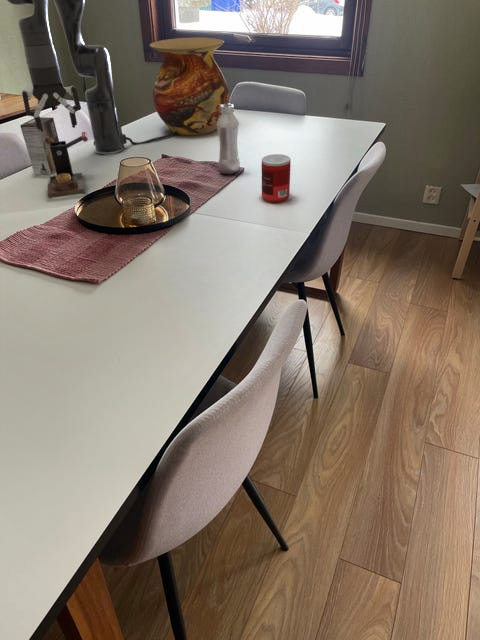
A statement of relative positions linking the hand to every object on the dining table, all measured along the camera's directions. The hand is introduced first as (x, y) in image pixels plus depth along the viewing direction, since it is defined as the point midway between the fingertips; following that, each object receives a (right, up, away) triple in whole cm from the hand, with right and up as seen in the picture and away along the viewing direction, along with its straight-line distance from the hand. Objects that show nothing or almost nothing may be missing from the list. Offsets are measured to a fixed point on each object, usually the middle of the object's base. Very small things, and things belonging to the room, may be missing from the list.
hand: (58, 129), depth 138 cm
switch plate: (0, -16, +9) cm, 18 cm away
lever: (+1, -2, +10) cm, 10 cm away
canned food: (+60, -19, +1) cm, 63 cm away
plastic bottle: (+47, -7, +18) cm, 51 cm away
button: (-1, -13, +6) cm, 14 cm away
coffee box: (-11, -5, +23) cm, 26 cm away
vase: (+32, +23, +60) cm, 71 cm away
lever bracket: (-3, -11, +16) cm, 19 cm away
